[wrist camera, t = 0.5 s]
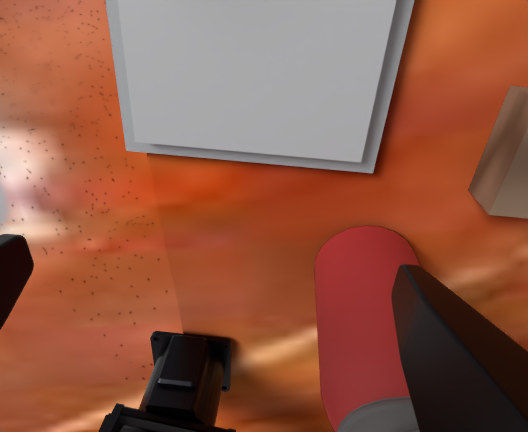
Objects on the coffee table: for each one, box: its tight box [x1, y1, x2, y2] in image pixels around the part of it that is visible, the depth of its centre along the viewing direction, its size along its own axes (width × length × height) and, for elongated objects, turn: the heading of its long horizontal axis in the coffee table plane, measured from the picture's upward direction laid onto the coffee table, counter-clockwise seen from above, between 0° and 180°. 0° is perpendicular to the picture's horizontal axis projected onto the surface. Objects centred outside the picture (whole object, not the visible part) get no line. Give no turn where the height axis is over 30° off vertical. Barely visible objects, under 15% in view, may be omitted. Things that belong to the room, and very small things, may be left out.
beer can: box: [314, 226, 420, 432], centre depth 21 cm, size 7×7×12 cm
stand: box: [105, 0, 414, 173], centre depth 18 cm, size 14×14×2 cm
